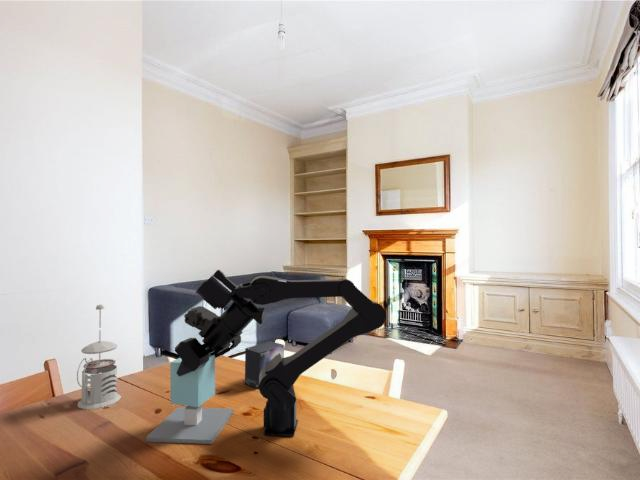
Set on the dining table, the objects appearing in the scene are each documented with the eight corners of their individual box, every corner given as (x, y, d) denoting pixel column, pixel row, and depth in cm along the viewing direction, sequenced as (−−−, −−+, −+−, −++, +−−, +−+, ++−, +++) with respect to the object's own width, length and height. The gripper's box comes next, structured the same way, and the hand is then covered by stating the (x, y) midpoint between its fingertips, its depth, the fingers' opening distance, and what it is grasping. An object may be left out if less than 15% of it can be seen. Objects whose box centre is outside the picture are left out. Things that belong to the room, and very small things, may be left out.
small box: (259, 389, 101) (259, 352, 101) (243, 384, 105) (243, 348, 105) (285, 378, 109) (284, 343, 109) (269, 374, 113) (269, 340, 113)
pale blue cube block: (215, 394, 83) (215, 355, 83) (198, 407, 77) (198, 364, 77) (189, 391, 85) (189, 353, 85) (170, 403, 78) (170, 362, 79)
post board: (233, 412, 87) (233, 394, 87) (211, 444, 73) (212, 422, 73) (177, 410, 88) (177, 392, 88) (145, 441, 74) (145, 420, 74)
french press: (129, 393, 98) (129, 301, 99) (98, 413, 87) (99, 309, 87) (95, 392, 99) (96, 301, 100) (61, 411, 88) (61, 308, 88)
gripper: (229, 290, 89) (190, 332, 92) (183, 301, 71) (136, 354, 74) (259, 323, 87) (218, 365, 90) (219, 344, 69) (169, 396, 72)
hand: (188, 369), depth 81 cm, fingers closed on pale blue cube block, 7 cm apart
